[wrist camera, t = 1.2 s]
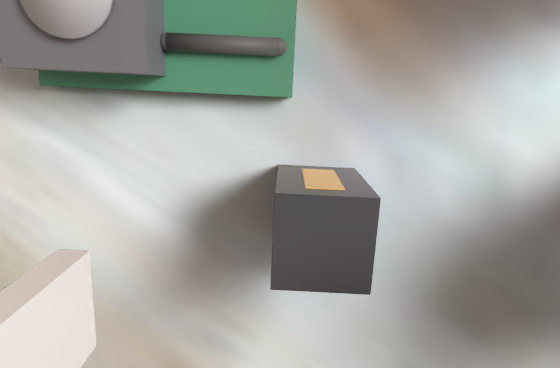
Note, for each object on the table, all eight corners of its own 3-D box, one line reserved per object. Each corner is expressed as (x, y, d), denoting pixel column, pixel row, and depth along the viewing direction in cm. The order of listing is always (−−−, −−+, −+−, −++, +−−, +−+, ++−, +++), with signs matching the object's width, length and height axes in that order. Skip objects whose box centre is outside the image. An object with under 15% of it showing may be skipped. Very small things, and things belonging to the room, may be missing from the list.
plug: (347, 240, 22) (370, 294, 16) (274, 236, 22) (270, 289, 16) (354, 167, 21) (380, 196, 15) (278, 163, 21) (274, 191, 15)
